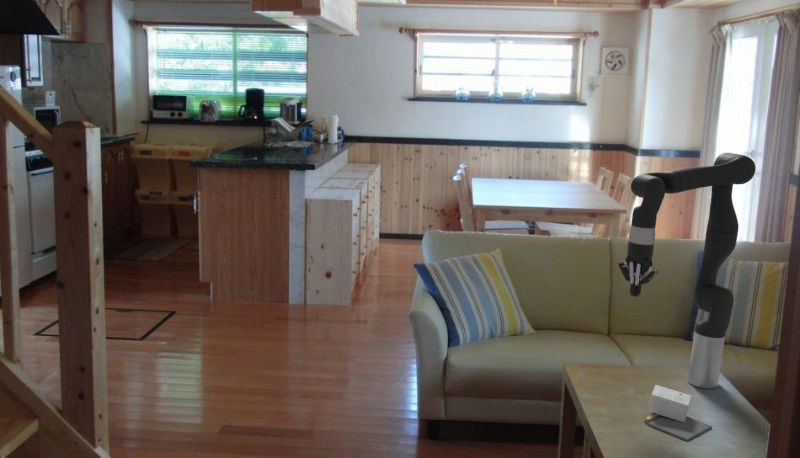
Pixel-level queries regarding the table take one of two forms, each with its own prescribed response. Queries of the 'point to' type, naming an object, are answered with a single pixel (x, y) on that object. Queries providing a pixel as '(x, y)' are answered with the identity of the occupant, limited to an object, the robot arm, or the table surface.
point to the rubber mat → (680, 427)
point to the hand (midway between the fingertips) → (634, 295)
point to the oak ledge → (652, 417)
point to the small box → (669, 403)
